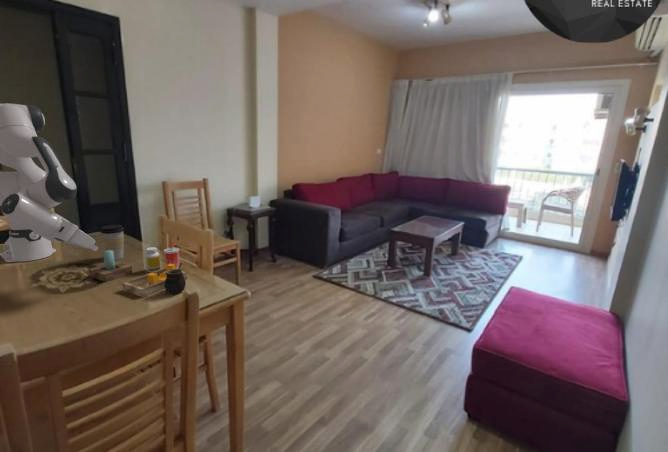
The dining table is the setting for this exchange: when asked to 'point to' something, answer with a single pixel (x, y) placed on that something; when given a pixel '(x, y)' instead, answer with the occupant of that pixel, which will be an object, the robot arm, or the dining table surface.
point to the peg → (109, 260)
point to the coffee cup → (114, 239)
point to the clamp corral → (134, 284)
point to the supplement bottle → (152, 259)
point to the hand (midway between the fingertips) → (89, 247)
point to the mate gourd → (174, 281)
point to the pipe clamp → (154, 278)
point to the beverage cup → (172, 255)
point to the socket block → (110, 272)
